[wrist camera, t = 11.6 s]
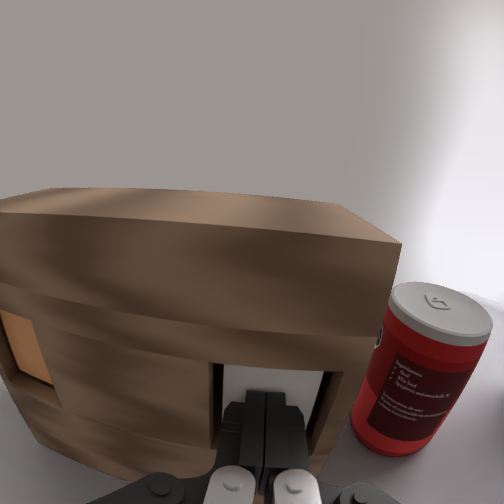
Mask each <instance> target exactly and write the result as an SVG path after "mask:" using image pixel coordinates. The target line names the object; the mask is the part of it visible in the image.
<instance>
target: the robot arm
mask: <svg viewBox="0 0 504 504" xmlns="http://www.w3.org/2000/svg"><path fill="white" fill-rule="evenodd" d="M257 488H258V495H264V504H400V503H399V502H397V501H396V500H394V499H393V498H391V497H390V496H388V495H387V494H385V493H384V492H383V491H381V490H380V489H378V488H377V487H375V486H374V485H372V484H370V483H367V482H355V483H352V484H350V485H348V486H346V487H345V488H342V487H337V486H332V485H327V484H324V483H322V482H320V481H318V480H317V479H316V478H315V477H314V476H313V475H312V473H311V471H310V468H309V460H308V450H307V440H306V430H305V421H304V415H303V413H302V412H301V410H300V409H299V407H298V406H288V405H286V396H285V393H283V392H267V391H266V395H265V391H255V390H246V398H245V402H235V401H231V402H230V403H229V405H228V406H227V407H226V408H225V410H224V414H223V420H222V425H221V431H220V437H219V442H218V448H217V454H216V459H215V463H214V466H213V467H212V469H211V470H210V471H209V472H208V473H206V474H204V475H202V476H199V477H194V478H182V479H178V478H177V477H175V476H173V475H171V474H169V473H164V472H155V473H151V474H149V475H147V476H145V477H143V478H141V479H139V480H137V481H135V482H133V483H131V484H129V485H127V486H125V487H123V488H121V489H119V490H117V491H115V492H112V493H110V494H108V495H106V496H103V497H101V498H99V499H97V500H94V501H92V502H89V503H87V504H252V503H253V497H254V495H256V492H257Z"/></svg>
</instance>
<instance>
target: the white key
mask: <svg viewBox="0 0 504 504" xmlns="http://www.w3.org/2000/svg"><path fill="white" fill-rule="evenodd" d="M323 373H324V371H303V370H284V369H270V368H258V367H247V366H238V365H229V364H224V377H223V410H222V420H223V414H224V410H225V408H226V407H227V406H228V405H229V403H230V402H231V401H235V402H245V398H246V390H255V391H265V395H266V391H267V392H283V393H285V396H286V405H288V406H298V407H299V409H300V410H301V412H302V413H303V415H304V421H305V430H306V427H307V424H308V421H309V418H310V415H311V412H312V409H313V406H314V403H315V399H316V396H317V393H318V390H319V386H320V383H321V380H322V376H323Z"/></svg>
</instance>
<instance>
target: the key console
mask: <svg viewBox="0 0 504 504" xmlns="http://www.w3.org/2000/svg"><path fill="white" fill-rule="evenodd" d="M401 247H402V243H400V242H399V241H397V240H396V239H394V238H393V237H391V236H389V235H388V234H386V233H385V232H383V231H382V230H380V229H379V228H377V227H375V226H374V225H372V224H371V223H369V222H367V221H366V220H364V219H363V218H361V217H359V216H358V215H356V214H354V213H353V212H351V211H349V210H348V209H346V208H344V207H343V206H341V205H339V204H334V203H326V202H317V201H308V200H299V199H290V198H279V197H270V196H259V195H246V194H233V193H220V192H204V191H188V190H166V189H136V188H50V189H45V190H40V191H35V192H31V193H26V194H22V195H17V196H13V197H9V198H5V199H1V200H0V309H1V310H4V311H7V312H9V313H12V314H15V315H17V316H20V317H23V318H26V319H28V320H31V321H32V325H33V328H34V332H35V335H36V338H37V341H38V345H39V348H40V351H41V354H42V357H43V359H44V362H45V365H46V368H47V370H48V373H49V376H50V378H51V381H52V383H53V385H52V384H50V383H48V382H45V381H43V380H41V379H39V378H36V377H34V376H32V375H30V374H28V373H26V372H24V371H22V370H20V369H19V367H18V364H17V362H16V359H15V357H14V354H13V351H12V349H11V346H10V343H9V340H8V337H7V334H6V331H5V328H4V325H3V322H2V318H1V315H0V375H1V377H2V379H3V381H4V383H5V385H6V387H7V389H8V391H9V393H10V395H11V397H12V399H13V401H14V403H15V405H16V406H17V408H18V410H19V412H20V413H21V415H22V417H23V419H24V420H25V422H26V424H27V425H28V427H29V429H30V430H31V432H32V433H33V435H34V436H35V438H36V439H37V441H38V442H39V443H41V444H43V445H45V446H47V447H49V448H50V449H52V450H54V451H56V452H58V453H60V454H62V455H65V456H67V457H69V458H71V459H73V460H75V461H78V462H80V463H82V464H85V465H87V466H89V467H92V468H94V469H97V470H99V471H102V472H105V473H107V474H110V475H113V476H116V477H118V478H121V479H124V480H128V481H131V482H135V481H137V480H139V479H141V478H143V477H145V476H147V475H149V474H151V473H155V472H164V473H169V474H171V475H173V476H175V477H177V478H178V479H182V478H194V477H199V476H202V475H204V474H206V473H208V472H209V471H210V470H211V469H212V467H213V466H214V463H215V459H216V454H217V448H218V442H219V437H220V431H221V425H222V410H223V377H224V364H229V365H238V366H247V367H258V368H270V369H284V370H303V371H324V373H323V376H322V380H321V383H320V386H319V390H318V393H317V396H316V399H315V403H314V406H313V409H312V412H311V415H310V418H309V421H308V424H307V427H306V440H307V450H308V460H309V468H310V471H311V473H312V475H313V476H314V477H315V478H316V479H317V477H318V475H319V473H320V471H321V470H322V468H323V466H324V464H325V462H326V460H327V458H328V456H329V455H330V453H331V451H332V449H333V447H334V445H335V443H336V441H337V438H338V436H339V434H340V432H341V430H342V428H343V426H344V424H345V421H346V419H347V417H348V415H349V412H350V410H351V408H352V405H353V403H354V401H355V398H356V396H357V393H358V391H359V388H360V386H361V383H362V381H363V378H364V376H365V373H366V370H367V368H368V365H369V362H370V359H371V356H372V353H373V351H374V348H375V345H376V342H377V338H378V335H379V332H380V329H381V326H382V322H383V319H384V316H385V312H386V309H387V305H388V302H389V298H390V294H391V290H392V286H393V282H394V278H395V274H396V270H397V265H398V261H399V256H400V252H401ZM252 504H264V495H258V488H257V492H256V495H254V497H253V503H252Z"/></svg>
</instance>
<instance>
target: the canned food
mask: <svg viewBox="0 0 504 504" xmlns="http://www.w3.org/2000/svg"><path fill="white" fill-rule="evenodd" d="M492 327H493V321H492V319H491V317H490V315H489V314H488V312H487V311H486V310H485V309H484V308H483V307H482V306H481V305H480V304H478V303H477V302H476V301H474V300H473V299H471V298H469V297H468V296H466V295H464V294H462V293H460V292H457V291H455V290H452V289H449V288H447V287H443V286H440V285H435V284H431V283H424V282H407V283H402V284H399V285H397V286H395V287H394V288H393V289H392V292H391V295H390V298H389V302H388V305H387V309H386V312H385V316H384V319H383V322H382V326H381V329H380V332H379V335H378V338H377V342H376V345H375V348H374V351H373V353H372V356H371V359H370V362H369V365H368V368H367V370H366V373H365V376H364V378H363V381H362V383H361V386H360V388H359V391H358V393H357V396H356V398H355V401H354V403H353V405H352V410H351V421H352V427H353V430H354V432H355V434H356V436H357V437H358V438H359V439H360V441H361V442H362V443H363V444H364V445H366V446H367V447H368V448H369V449H371V450H373V451H375V452H377V453H380V454H383V455H386V456H393V457H396V456H405V455H410V454H412V453H414V452H416V451H418V450H419V449H421V448H422V447H423V446H425V445H426V444H427V443H428V442H429V441H430V440H431V438H432V437H433V436H434V434H435V433H436V432H437V430H438V429H439V427H440V426H441V424H442V423H443V421H444V420H445V418H446V417H447V415H448V414H449V412H450V411H451V409H452V408H453V406H454V404H455V403H456V401H457V400H458V398H459V396H460V395H461V393H462V391H463V389H464V388H465V386H466V384H467V382H468V380H469V379H470V377H471V375H472V373H473V371H474V369H475V367H476V365H477V363H478V361H479V359H480V357H481V355H482V353H483V351H484V349H485V346H486V344H487V341H488V339H489V337H490V334H491V330H492Z"/></svg>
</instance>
